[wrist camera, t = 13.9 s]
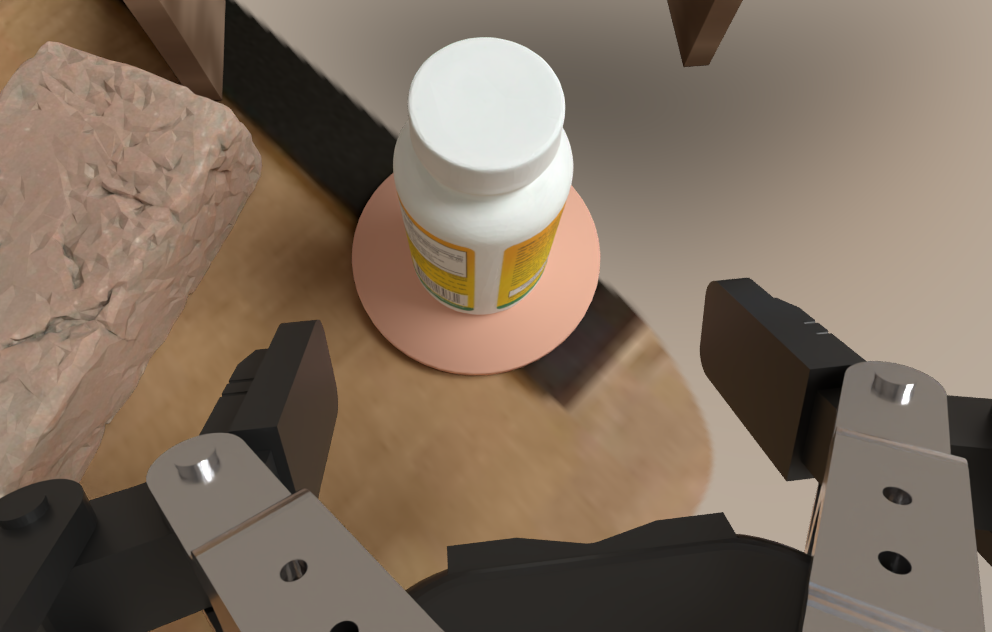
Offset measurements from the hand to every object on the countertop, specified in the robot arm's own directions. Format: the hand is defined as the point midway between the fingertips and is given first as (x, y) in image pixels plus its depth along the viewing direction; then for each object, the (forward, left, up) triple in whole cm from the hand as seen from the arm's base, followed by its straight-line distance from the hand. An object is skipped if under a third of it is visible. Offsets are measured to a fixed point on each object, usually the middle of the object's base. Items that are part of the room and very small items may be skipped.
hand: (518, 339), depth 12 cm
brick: (-16, -7, -11) cm, 20 cm away
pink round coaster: (-5, +4, -11) cm, 13 cm away
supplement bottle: (-5, +4, -10) cm, 12 cm away
